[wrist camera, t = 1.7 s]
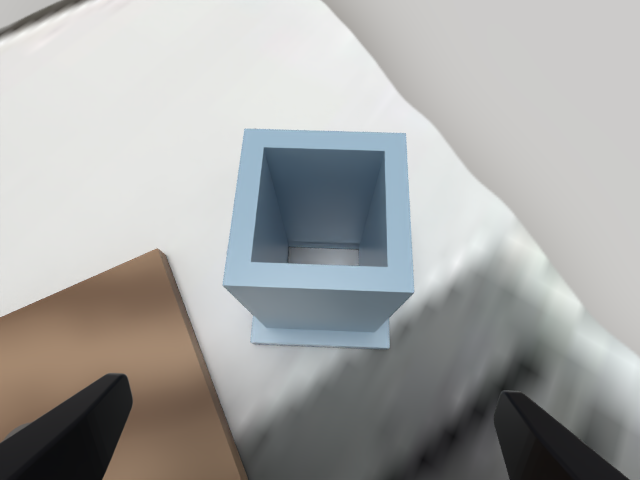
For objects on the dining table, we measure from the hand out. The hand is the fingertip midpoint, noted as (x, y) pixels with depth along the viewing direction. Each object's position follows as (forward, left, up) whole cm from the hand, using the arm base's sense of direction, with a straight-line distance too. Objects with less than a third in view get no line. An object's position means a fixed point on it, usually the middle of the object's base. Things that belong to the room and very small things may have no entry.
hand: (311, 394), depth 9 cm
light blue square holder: (+5, -3, -12) cm, 14 cm away
